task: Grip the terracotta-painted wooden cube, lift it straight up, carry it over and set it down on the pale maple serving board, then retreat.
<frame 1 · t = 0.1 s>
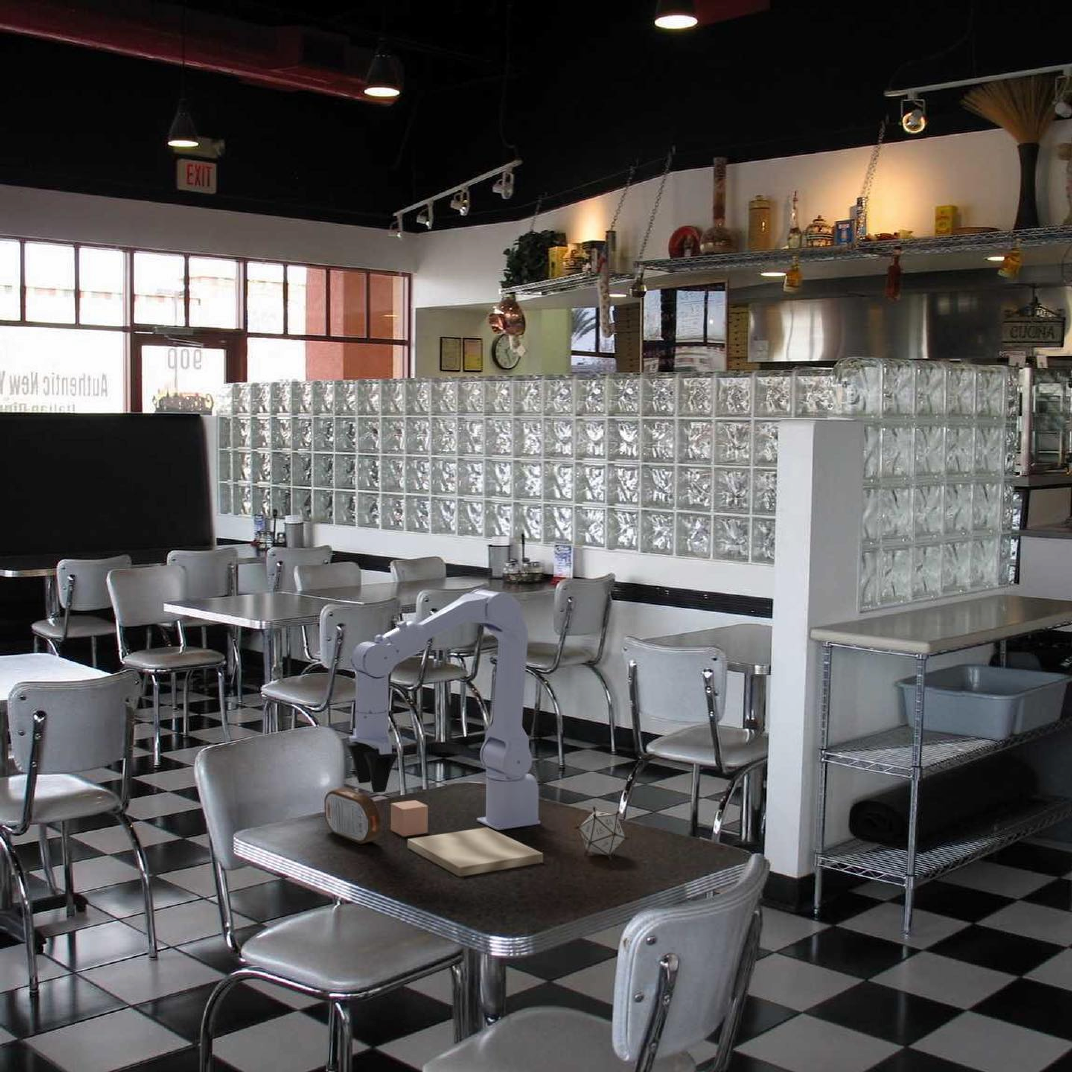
hand: (371, 787, 231), 10 cm above the table, fingers open, 7 cm apart
game die: (601, 856, 225), on the table
tin: (351, 839, 234), on the table
terracotta cube: (409, 831, 239), on the table
maple board: (474, 854, 225), on the table
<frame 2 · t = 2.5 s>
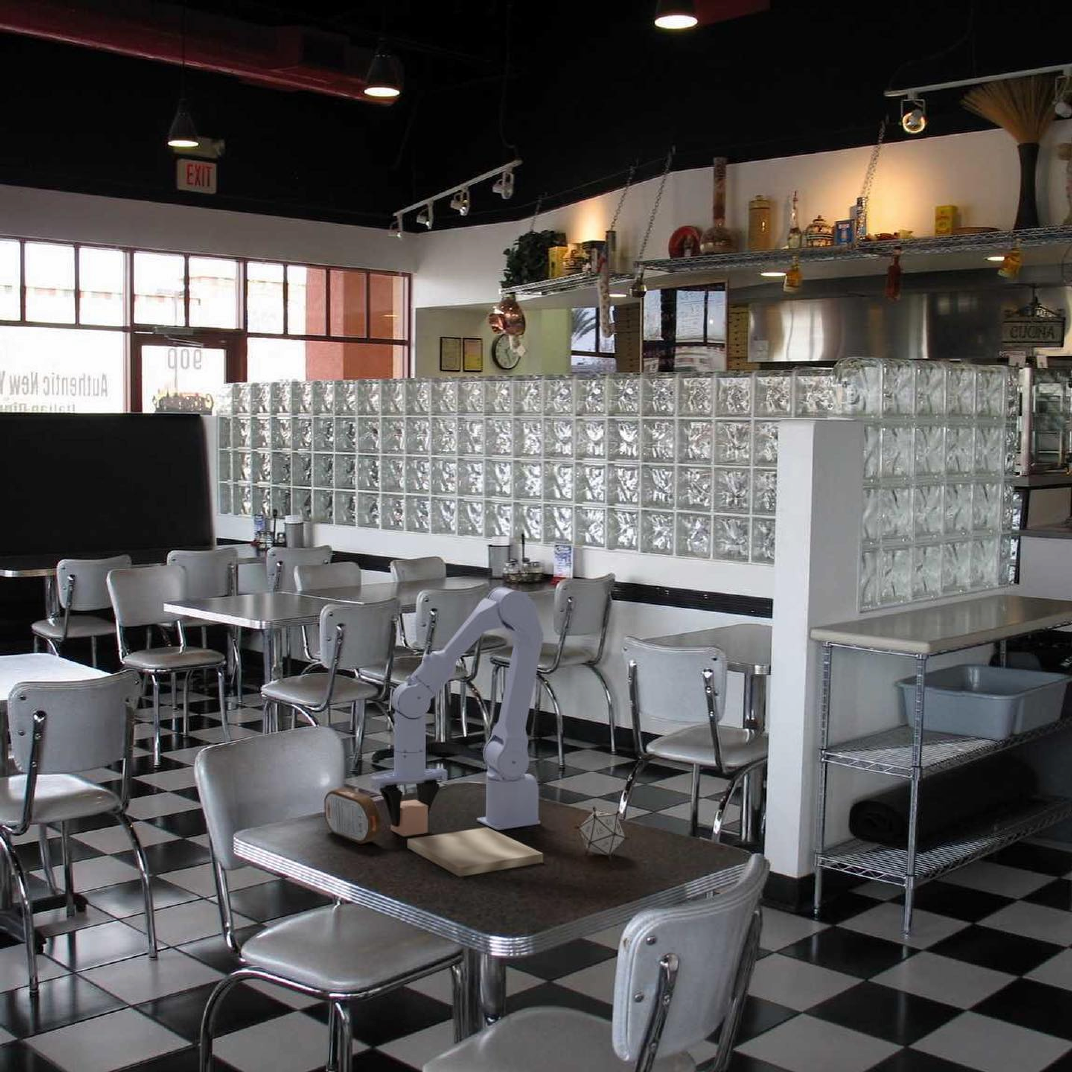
hand: (409, 823, 239), 1 cm above the table, fingers closed on terracotta cube, 5 cm apart
terracotta cube: (409, 831, 239), on the table, touching gripper
everything else where it was.
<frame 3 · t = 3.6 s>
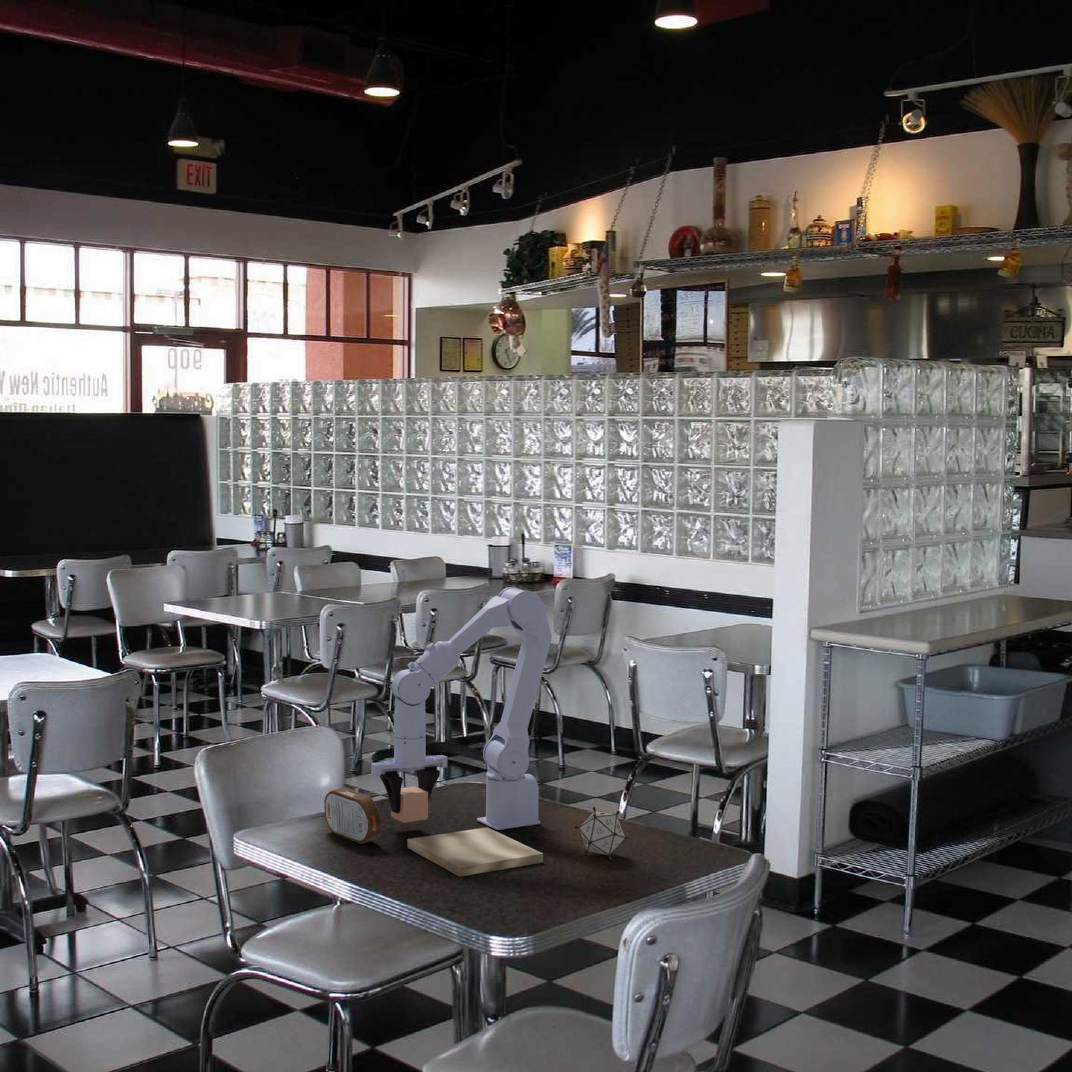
hand: (409, 810, 239), 4 cm above the table, fingers closed on terracotta cube, 5 cm apart
terracotta cube: (409, 817, 239), point 2 cm above the table, touching gripper
everything else where it was.
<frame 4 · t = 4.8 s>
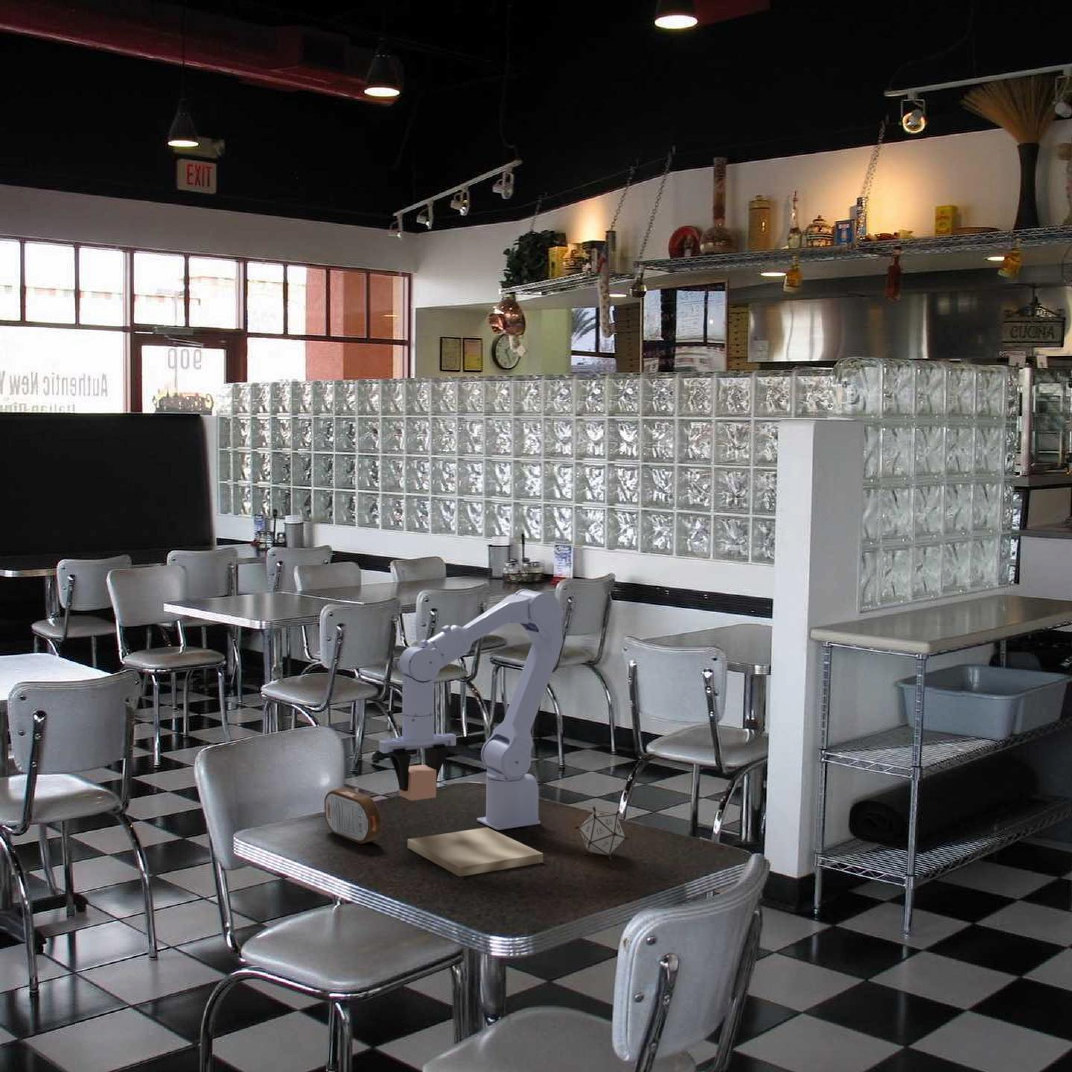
hand: (417, 788, 237), 8 cm above the table, fingers closed on terracotta cube, 5 cm apart
terracotta cube: (417, 796, 237), point 7 cm above the table, touching gripper
everything else where it was.
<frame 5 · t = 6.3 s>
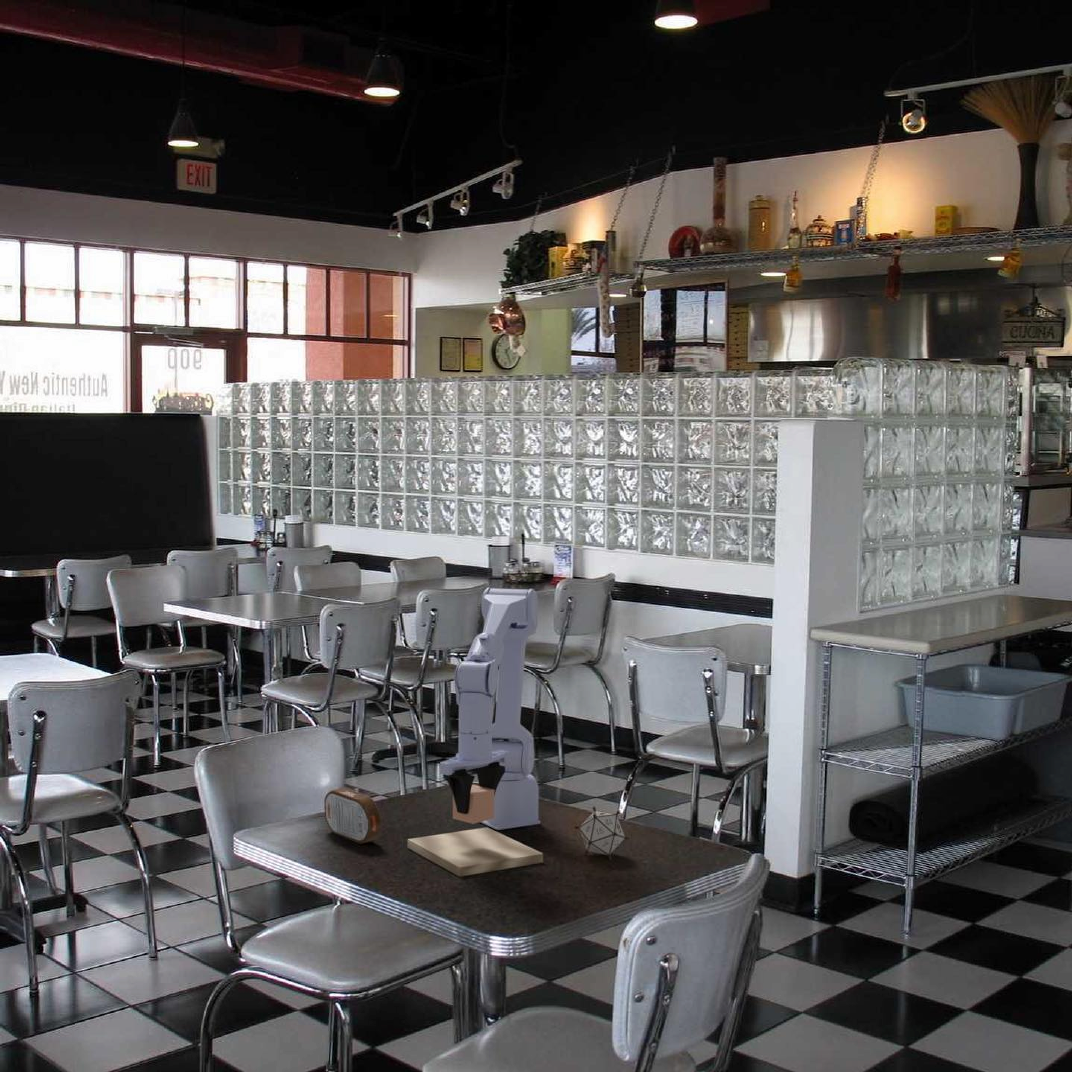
hand: (474, 810, 224), 8 cm above the table, fingers closed on terracotta cube, 5 cm apart
terracotta cube: (473, 818, 224), point 6 cm above the table, touching gripper
everything else where it was.
when the fingers open (4 cm above the table, at t = 7.6 s): terracotta cube stays where it is, resting on maple board.
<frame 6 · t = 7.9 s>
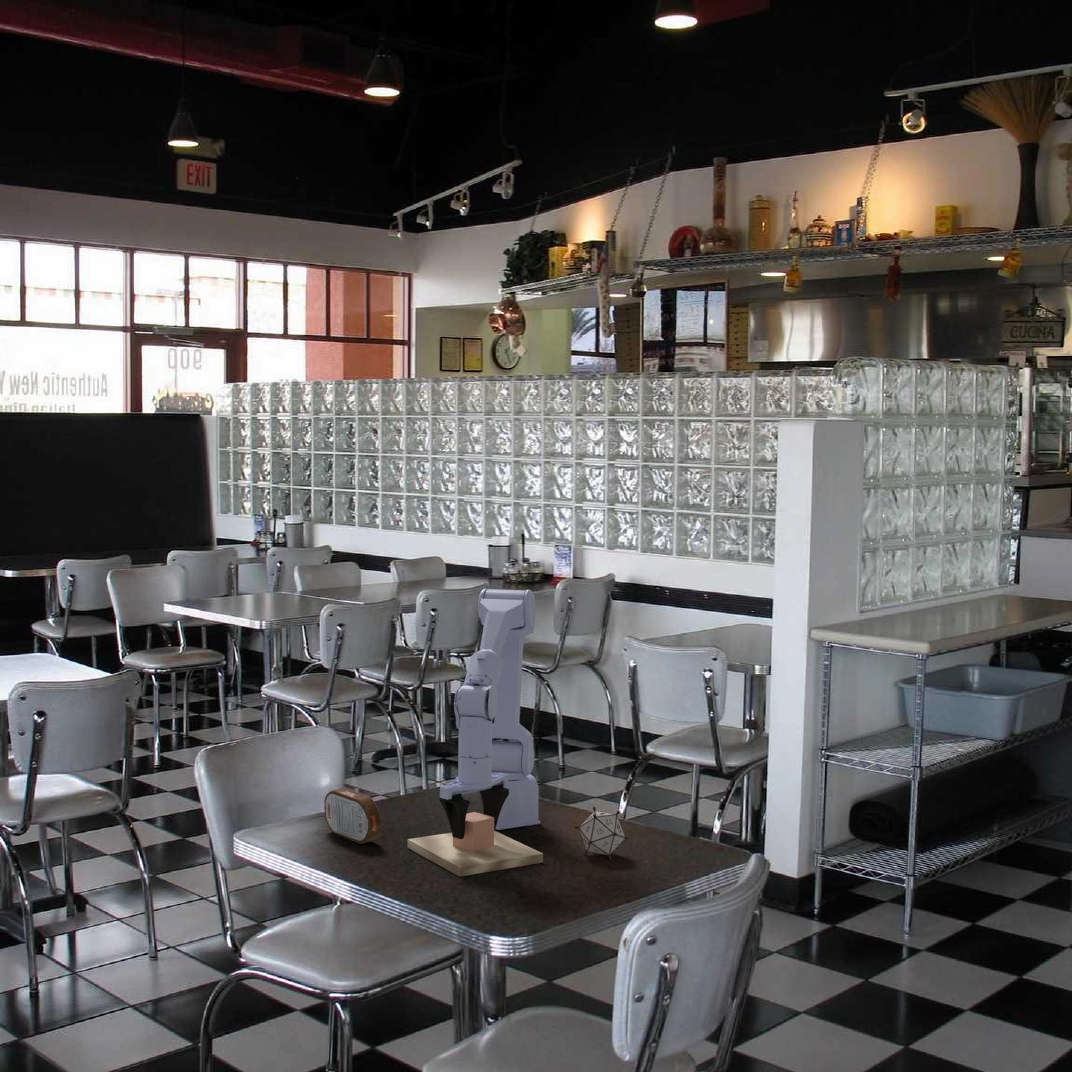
hand: (474, 833, 224), 4 cm above the table, fingers open, 7 cm apart
terracotta cube: (473, 846, 225), point 1 cm above the table, touching maple board
everything else where it was.
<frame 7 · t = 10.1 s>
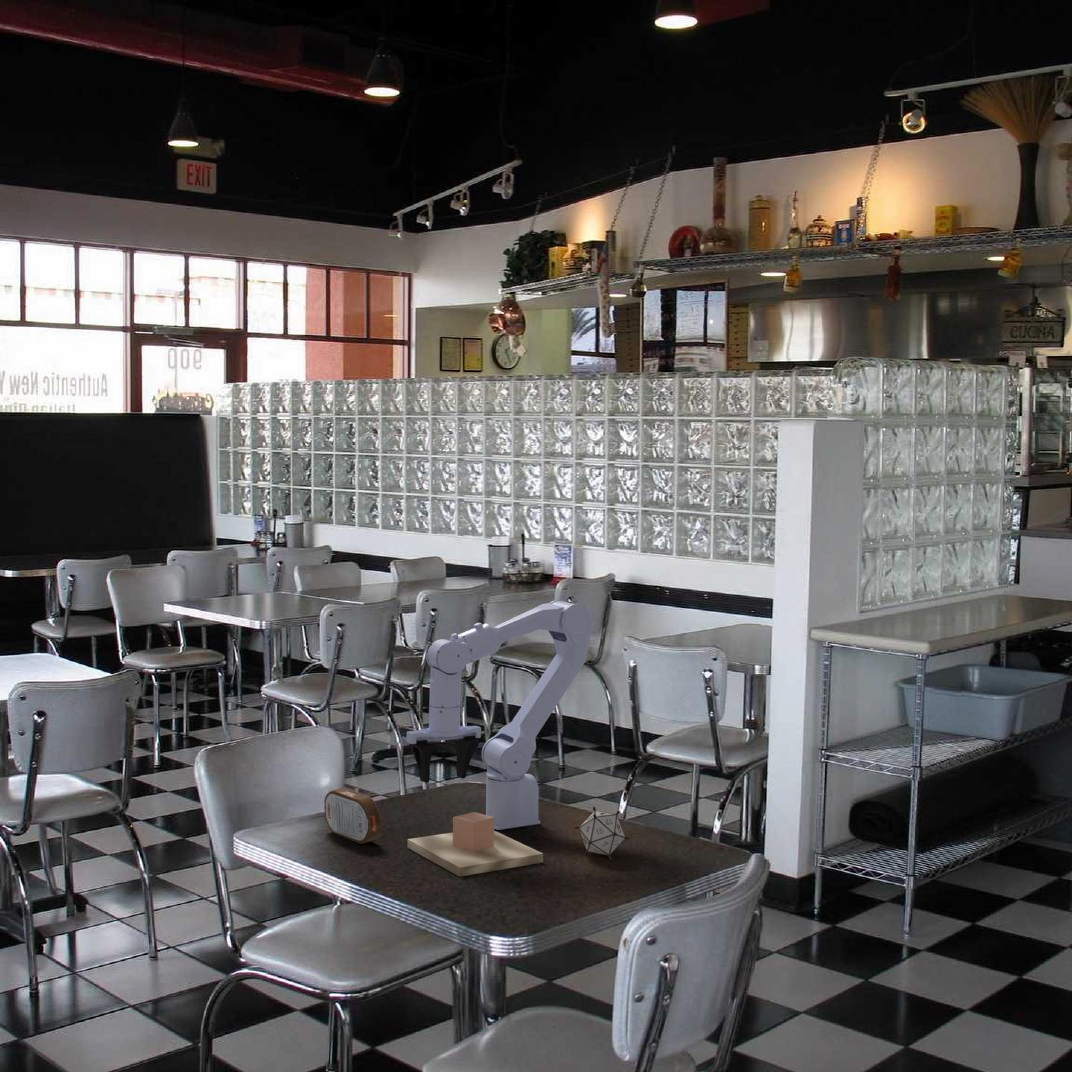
hand: (443, 779, 240), 9 cm above the table, fingers open, 7 cm apart
nothing on the table moved.
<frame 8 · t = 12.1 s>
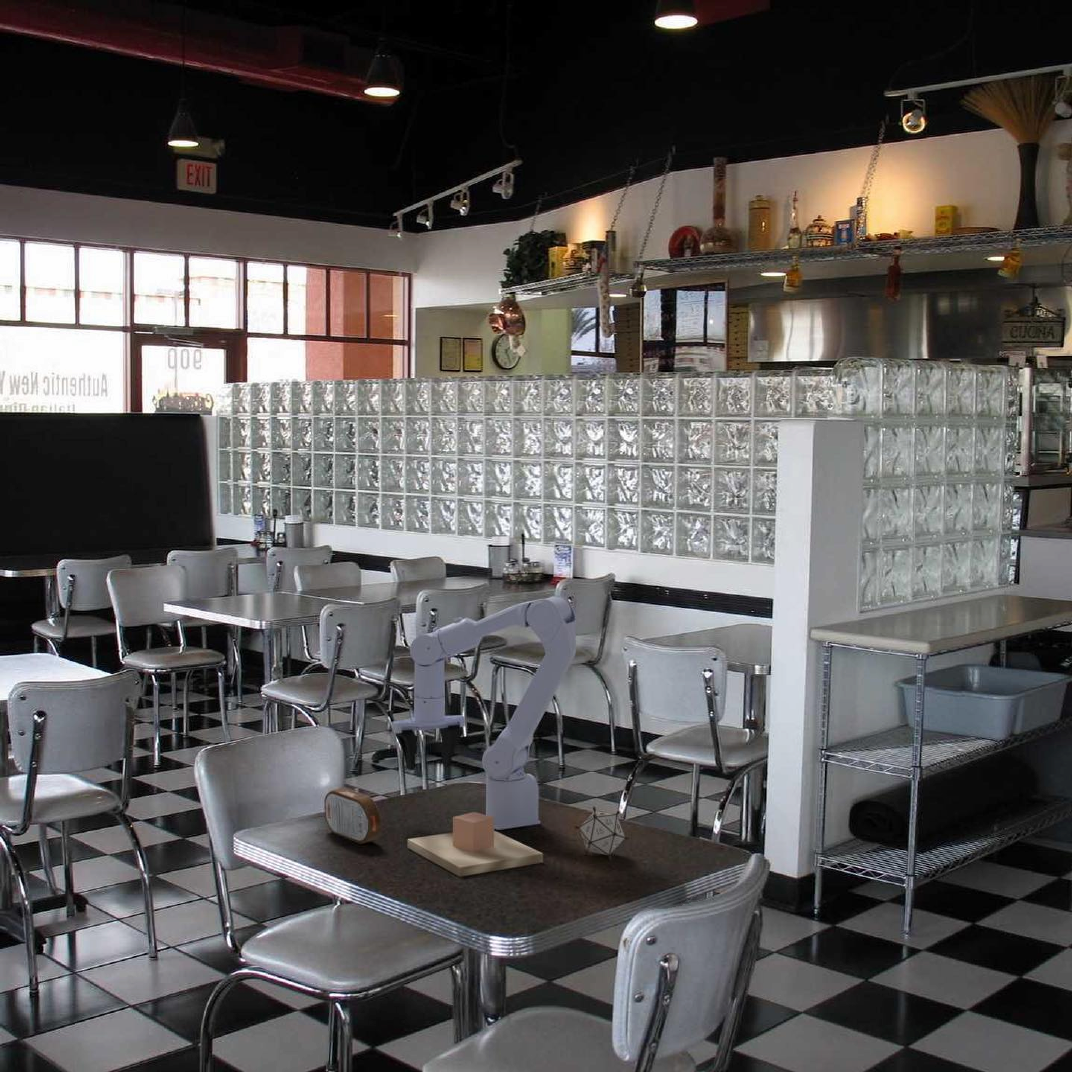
hand: (428, 767, 250), 9 cm above the table, fingers open, 7 cm apart
nothing on the table moved.
at the end: terracotta cube inside the target area on the maple board (0.2 cm from its centre), point 1.5 cm above the maple board's base; terracotta cube tilted 0°; the gripper is holding nothing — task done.
